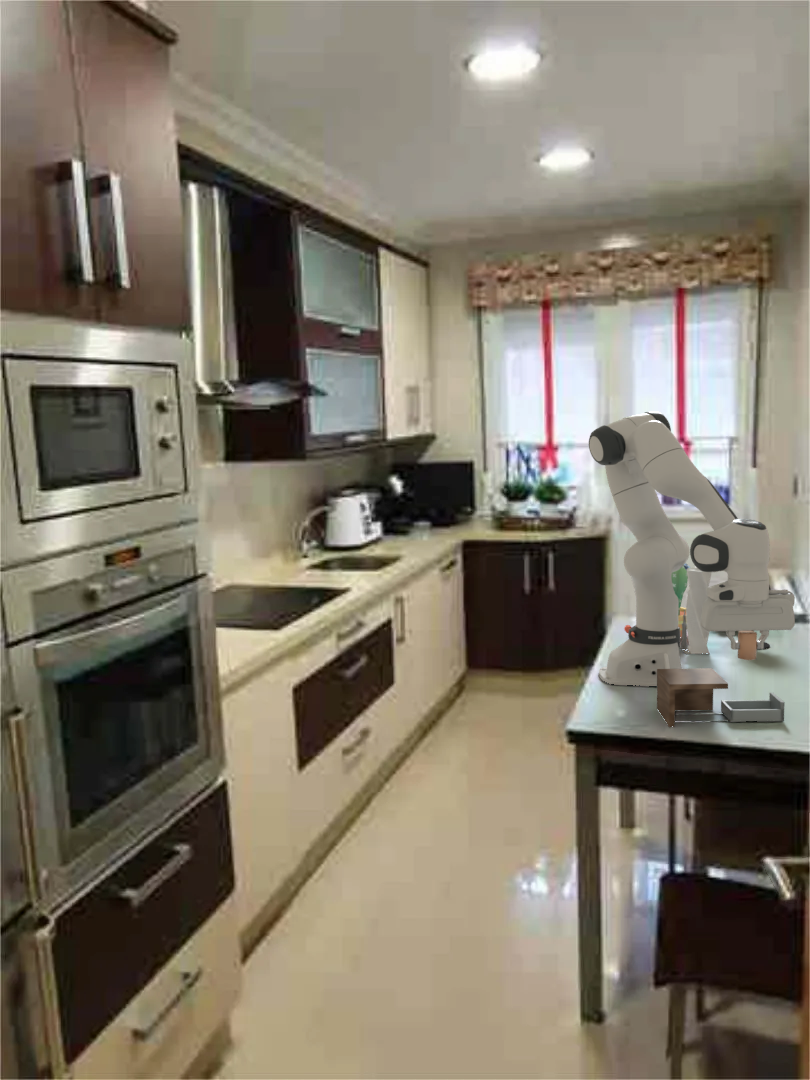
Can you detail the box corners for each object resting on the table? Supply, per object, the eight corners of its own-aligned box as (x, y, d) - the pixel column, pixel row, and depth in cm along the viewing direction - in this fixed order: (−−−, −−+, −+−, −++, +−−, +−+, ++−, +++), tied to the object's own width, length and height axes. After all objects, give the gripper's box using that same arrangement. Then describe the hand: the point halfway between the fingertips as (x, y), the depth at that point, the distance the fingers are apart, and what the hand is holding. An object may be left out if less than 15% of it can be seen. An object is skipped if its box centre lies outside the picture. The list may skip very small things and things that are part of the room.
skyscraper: (708, 648, 253) (709, 558, 249) (715, 656, 245) (717, 563, 241) (680, 649, 253) (681, 559, 250) (686, 656, 245) (687, 563, 242)
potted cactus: (697, 642, 260) (698, 564, 256) (646, 640, 264) (646, 563, 260) (694, 630, 274) (695, 556, 271) (646, 628, 278) (646, 555, 275)
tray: (730, 721, 190) (730, 702, 189) (721, 711, 197) (721, 693, 196) (784, 721, 189) (784, 702, 188) (772, 710, 196) (773, 692, 195)
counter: (669, 727, 188) (669, 684, 187) (656, 709, 200) (657, 668, 199) (788, 726, 187) (789, 682, 185) (768, 708, 198) (769, 667, 197)
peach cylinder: (741, 660, 189) (741, 634, 188) (735, 655, 193) (735, 630, 192) (758, 659, 189) (759, 634, 188) (752, 655, 193) (753, 630, 192)
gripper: (789, 586, 191) (787, 644, 193) (699, 588, 193) (698, 646, 195) (800, 591, 185) (798, 651, 187) (707, 594, 187) (706, 653, 188)
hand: (747, 648), depth 191 cm, fingers closed on peach cylinder, 4 cm apart
